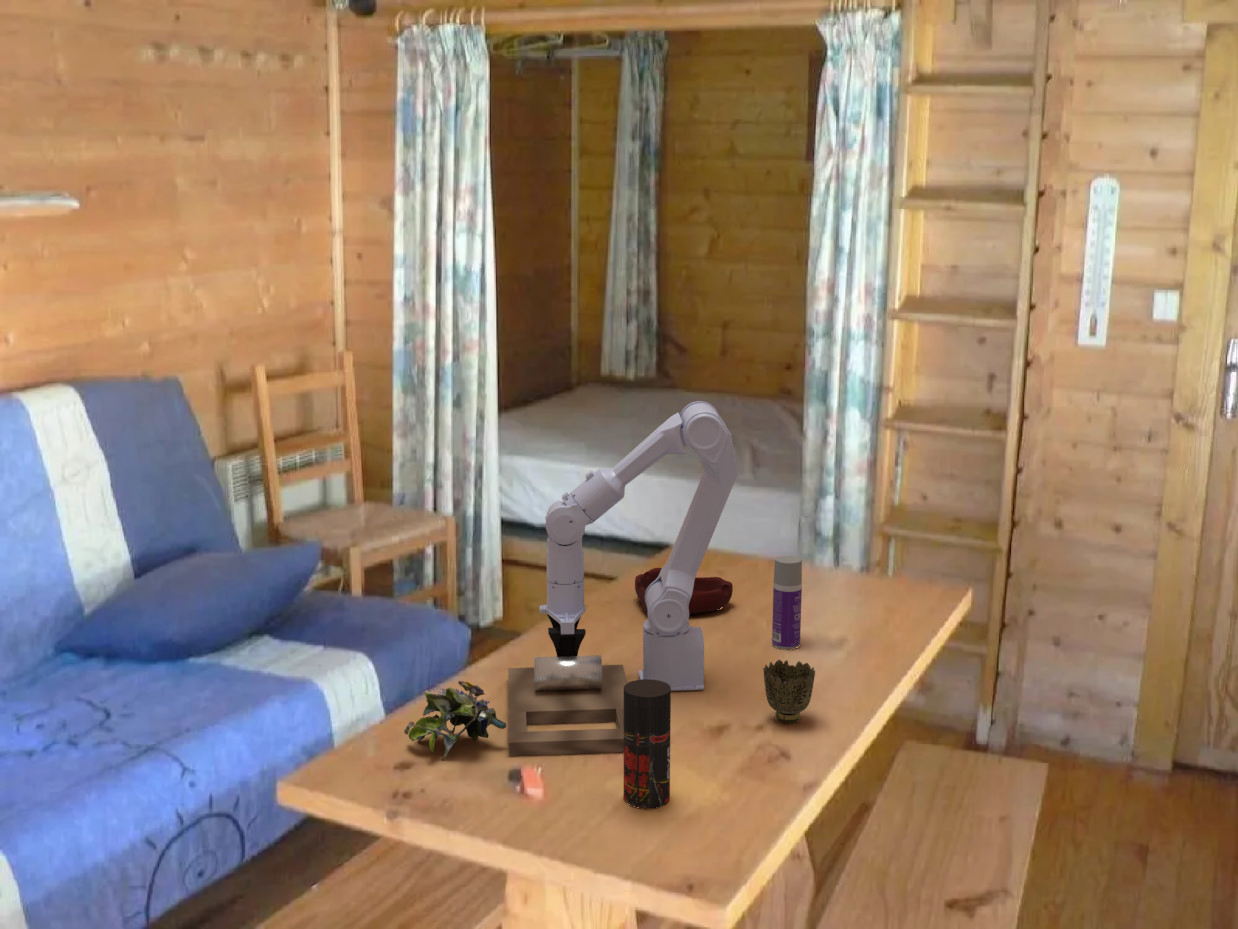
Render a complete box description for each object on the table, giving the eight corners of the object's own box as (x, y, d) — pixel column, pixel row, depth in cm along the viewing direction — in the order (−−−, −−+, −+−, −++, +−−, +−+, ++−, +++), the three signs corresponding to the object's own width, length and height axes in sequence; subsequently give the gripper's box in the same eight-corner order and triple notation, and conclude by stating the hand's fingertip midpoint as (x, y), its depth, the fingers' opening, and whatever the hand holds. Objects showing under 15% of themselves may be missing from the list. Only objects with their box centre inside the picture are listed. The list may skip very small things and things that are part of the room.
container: (798, 650, 227) (801, 564, 224) (770, 648, 228) (772, 562, 225) (801, 641, 232) (803, 556, 228) (773, 639, 233) (775, 554, 229)
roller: (599, 671, 209) (600, 648, 206) (601, 696, 205) (602, 673, 202) (534, 673, 208) (534, 650, 205) (534, 698, 205) (534, 675, 201)
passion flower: (473, 775, 194) (522, 712, 192) (441, 794, 184) (492, 728, 181) (415, 722, 197) (463, 659, 194) (381, 738, 186) (430, 672, 184)
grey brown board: (622, 676, 216) (622, 664, 216) (640, 751, 189) (640, 738, 188) (508, 680, 215) (508, 668, 214) (509, 756, 187) (508, 742, 187)
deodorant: (621, 788, 178) (621, 680, 175) (667, 787, 178) (667, 678, 175) (625, 810, 172) (625, 697, 169) (672, 808, 173) (673, 696, 169)
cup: (818, 714, 202) (819, 662, 200) (808, 733, 195) (809, 680, 193) (768, 707, 204) (769, 656, 202) (756, 726, 197) (758, 674, 195)
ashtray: (608, 612, 247) (608, 586, 246) (658, 589, 260) (658, 564, 259) (692, 631, 237) (692, 604, 236) (739, 607, 250) (740, 580, 249)
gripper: (538, 565, 216) (539, 647, 219) (540, 594, 202) (541, 681, 205) (583, 564, 217) (583, 646, 220) (587, 593, 203) (588, 679, 206)
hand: (566, 663), depth 212 cm, fingers open, 7 cm apart
